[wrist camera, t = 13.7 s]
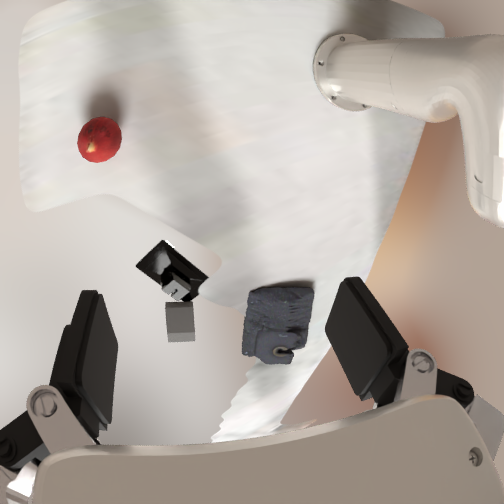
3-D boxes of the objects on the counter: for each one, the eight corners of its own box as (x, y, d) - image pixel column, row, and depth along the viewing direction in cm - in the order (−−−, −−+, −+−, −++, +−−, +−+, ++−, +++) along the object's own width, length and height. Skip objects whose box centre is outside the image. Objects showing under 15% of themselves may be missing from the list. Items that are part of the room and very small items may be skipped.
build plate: (135, 265, 46) (132, 282, 43) (163, 237, 45) (162, 253, 41) (186, 303, 53) (188, 320, 49) (215, 280, 52) (218, 297, 48)
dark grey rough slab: (321, 278, 57) (331, 293, 53) (301, 348, 69) (308, 363, 65) (245, 285, 54) (251, 302, 50) (240, 357, 66) (244, 373, 62)
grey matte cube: (192, 300, 52) (194, 318, 49) (193, 323, 56) (195, 341, 52) (165, 301, 51) (165, 319, 48) (168, 324, 55) (168, 342, 51)
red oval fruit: (85, 118, 32) (63, 128, 25) (123, 110, 33) (109, 117, 26) (91, 158, 35) (72, 175, 28) (128, 150, 36) (117, 166, 29)
